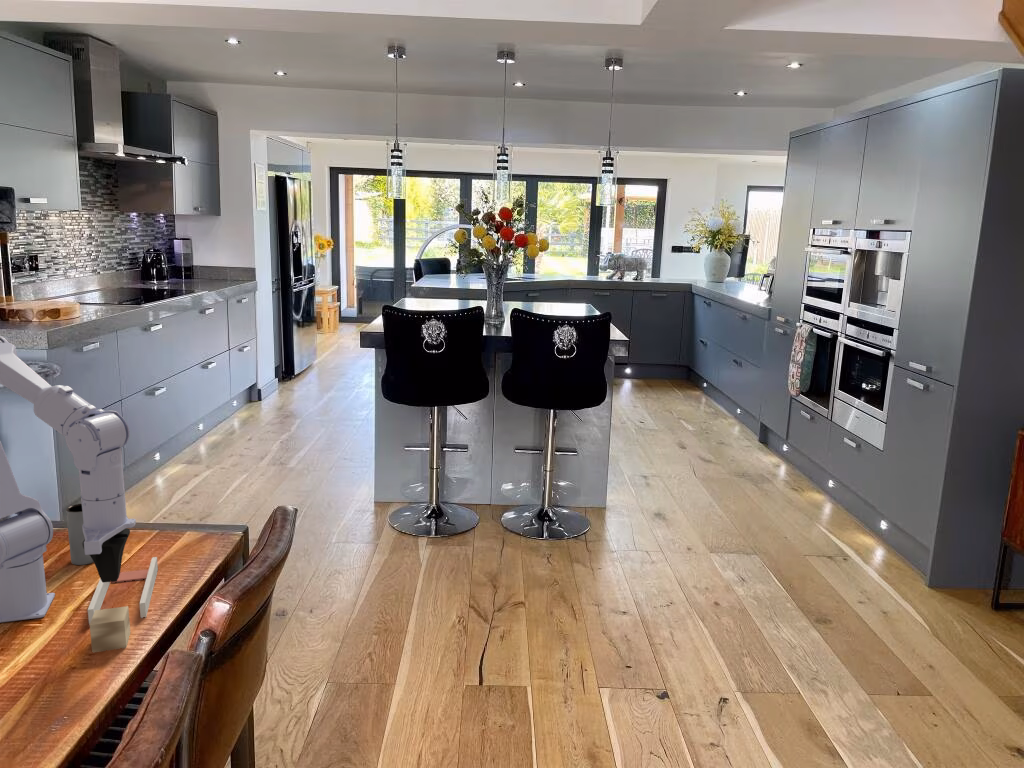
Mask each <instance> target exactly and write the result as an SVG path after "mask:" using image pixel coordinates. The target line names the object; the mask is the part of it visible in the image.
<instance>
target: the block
mask: <svg viewBox="0 0 1024 768" xmlns="http://www.w3.org/2000/svg"><path fill="white" fill-rule="evenodd" d="M130 621H131V620H130V610H129V606H128V605H127V606H120V607H119V606H118V607H112V608H103V609H102V608H100V610H95V612H94V615H93V617H92V620H91V623H90V624H89V631H90V642H91V643H90V644H91V652H93V653H99V652H107V651H114V649H115V650H121V649H120V648H122V649H127V648H126V647H128V643H129V641H130V637H129V636H131V623H130ZM106 650H107V651H106Z"/></svg>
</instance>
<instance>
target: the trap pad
mask: <svg viewBox="0 0 1024 768" xmlns="http://www.w3.org/2000/svg"><path fill="white" fill-rule="evenodd" d="M148 571H149V568H148V569H139V570H130V571H120V575H119V578H118V580H117V581H116V582H117V583H124V581H126V582H133V581H132V580H135V581H140V580H141V581H142V580H143V579H144V580H146V578H147V574H148ZM110 584H116V583H115V582H110Z"/></svg>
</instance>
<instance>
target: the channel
mask: <svg viewBox="0 0 1024 768" xmlns="http://www.w3.org/2000/svg"><path fill="white" fill-rule="evenodd" d="M158 567H159V566H158V556H153V557H151V560H150V563H149V567H148V569H149V571H148V574H147V578H146V579H145V583H144V586H143V589H142V592H141V596H140V601H139V612H140V613H139V614H140V618H141V619H143V617H145V618H147V615H148V611H149V608H150V604H151V599H152V597H153V596H152V595H153V591H154V587H155V584H156V578H157V576H158V571H159V568H158ZM110 584H111V582H102V581H101V579H100V578H99V581H98V583H97V585H96V588H95V591H94V593H93V596H92V598H91V600H90V602H89V606H88V608H87V617H88V619H87V620H88V625H90V623H91V620H92V617H93V615H94V612H95V610H101V609H102V605H103V602H104V600H105V598H106V594H107V592H108V589H109V586H110Z"/></svg>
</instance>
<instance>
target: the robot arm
mask: <svg viewBox="0 0 1024 768" xmlns="http://www.w3.org/2000/svg"><path fill="white" fill-rule="evenodd" d="M0 384H1V385H2V386H4V387H6V388H7V389H8V390H10V391H12V392H14V393H15V394H16V395H19V396H20V397H21V398H24V399H25V400H26V401H28V402H30V403H32V404H33V413H34V415H35V416H36V417H38V419H40V420H41V421H42V422H44V423H45V424H46V425H47V426H50V427H51V429H54V430H55V432H57V433H59V434H60V435H62V436H63V437H64V440H65V445H66V446H67V449H68V451H69V452H70V453H71V455H72V457H73V465H74V466H75V468H76V469H77V470H78V475H79V485H80V486H79V487H80V500H81V504H82V511H83V522H84V524H83V525H82V529H83V534H84V537H85V540H84V541H83V548H84V550H85V555H90V556H91V558H92V560H93V561H94V562H93V564H94V565H95V568H96V571H97V573H98V575H99V580H100V579H101V581H102V582H110V583H111V582H116V581H117V580H118V578H119V575H120V572H121V568H122V564H123V563H122V561H123V555H124V551H125V550H124V549H125V547H126V543H127V540H128V538H129V537H130V534H131V529H132V528H133V527H135V526H136V524H137V521H136V518H128V515H127V504H126V493H125V491H126V490H125V480H124V479H125V476H124V465H123V456H122V455H123V453H122V448H123V447H125V446H126V445H127V444H128V442H129V439H130V428H129V425H128V422H127V421H126V419H125V418H124V417H123V416H122V415H121V414H120V413H119V411H116V410H111V409H110V410H109V409H108V410H103V409H102V408H100V409H98V408H97V407H96V406H95V405H93V404H91V403H90V402H88V401H87V400H85V399H84V398H82V396H80V395H78V394H77V393H76V392H74V389H73V388H72V387H70V386H69V385H62V384H58V385H51V384H49V382H47V381H46V379H44V378H43V377H42V376H41V375H40V374H38V373H37V372H35V370H33V369H32V368H31V367H30V366H28V365H27V364H26V363H25V362H24V361H23V360H22V359H20V357H18V353H17V348H16V346H15V344H13V343H11V342H9V341H8V340H7V339H6V338H5V337H4V336H2V335H0ZM3 446H4V445H3V444H2V441H1V440H0V623H7V622H15V621H22V620H25V621H26V620H30V619H31V620H32V619H39V618H43V617H45V616H46V614H47V613H48V610H49V608H50V607H51V604H52V602H53V601H54V599H55V596H56V593H55V592H48V593H47V583H46V573H45V566H44V565H45V564H44V553H45V552H47V549H48V548H47V545H48V544H49V543H51V542H52V539H53V537H54V536H53V535H54V525H53V523H52V520H51V519H50V517H49V516H48V515H47V513H45V512H44V510H43V508H42V506H41V503H40V501H39V500H38V499H36V498H33V497H31V496H29V495H28V496H27V495H25V494H22V492H21V490H20V489H19V487H18V483H17V481H16V477H15V475H14V473H13V470H12V468H11V465H10V462H9V460H8V457H7V454H6V452H5V449H4V447H3ZM12 515H15V516H12ZM8 516H12V517H8ZM6 517H8V518H6ZM4 518H6V519H4ZM2 519H4V520H2Z"/></svg>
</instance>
